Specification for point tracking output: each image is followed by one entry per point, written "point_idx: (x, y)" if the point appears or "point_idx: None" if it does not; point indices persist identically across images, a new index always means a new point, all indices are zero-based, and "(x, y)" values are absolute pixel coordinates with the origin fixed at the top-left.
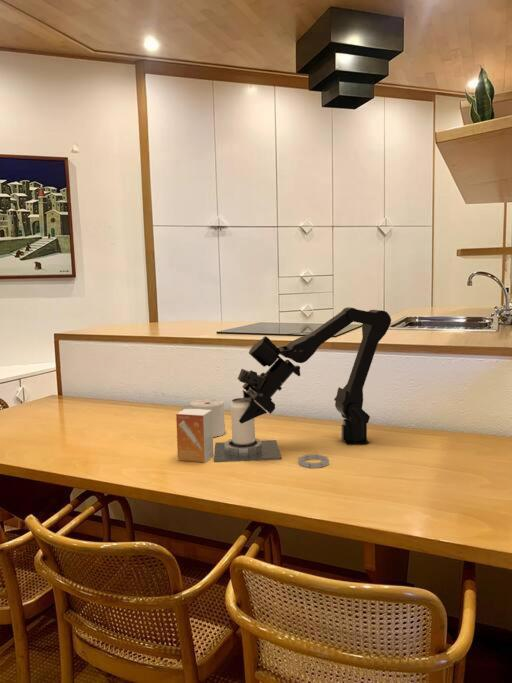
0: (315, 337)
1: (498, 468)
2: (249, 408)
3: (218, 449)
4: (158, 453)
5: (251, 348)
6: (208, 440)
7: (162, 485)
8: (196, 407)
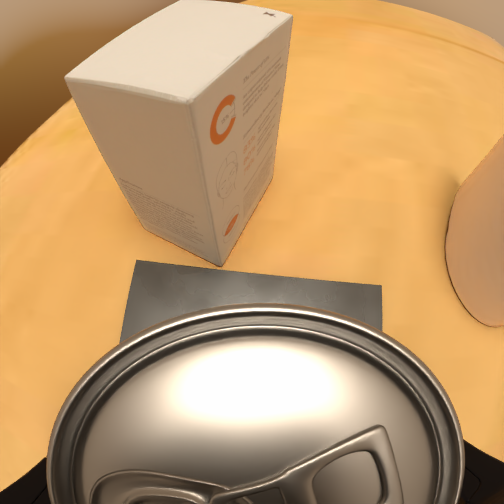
0: None
1: None
2: (10, 493)
3: (281, 292)
4: (291, 110)
5: None
6: (156, 204)
7: (46, 138)
8: None
